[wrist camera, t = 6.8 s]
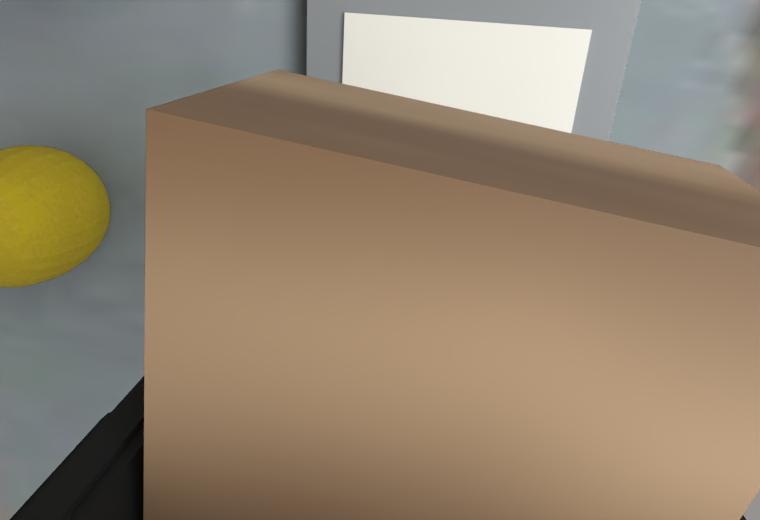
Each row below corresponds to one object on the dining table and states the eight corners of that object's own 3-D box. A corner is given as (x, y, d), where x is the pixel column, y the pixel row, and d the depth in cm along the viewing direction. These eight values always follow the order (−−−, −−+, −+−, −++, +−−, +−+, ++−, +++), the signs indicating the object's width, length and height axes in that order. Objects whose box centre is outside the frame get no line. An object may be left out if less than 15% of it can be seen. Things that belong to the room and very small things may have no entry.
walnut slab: (278, 69, 9) (147, 109, 5) (719, 165, 9) (897, 278, 5) (226, 563, 14) (141, 754, 10) (502, 639, 14) (512, 865, 10)
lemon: (158, 167, 26) (37, 228, 19) (124, 260, 28) (5, 345, 21) (49, 106, 26) (-117, 144, 18) (24, 205, 28) (-132, 273, 21)
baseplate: (314, -63, 21) (306, -67, 20) (644, -45, 20) (654, -48, 19) (309, 357, 29) (303, 371, 28) (546, 391, 28) (548, 406, 27)
